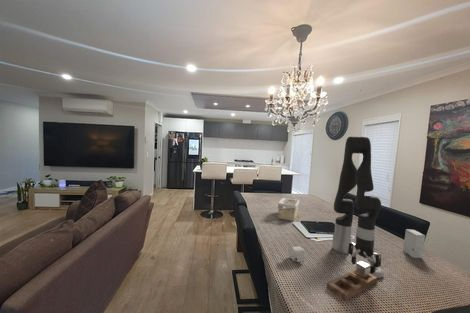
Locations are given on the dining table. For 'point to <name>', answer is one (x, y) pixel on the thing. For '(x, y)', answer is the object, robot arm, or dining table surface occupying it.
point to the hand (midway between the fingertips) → (362, 268)
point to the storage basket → (288, 209)
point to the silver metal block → (362, 270)
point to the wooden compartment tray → (350, 284)
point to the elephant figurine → (297, 253)
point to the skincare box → (414, 243)
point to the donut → (377, 272)
